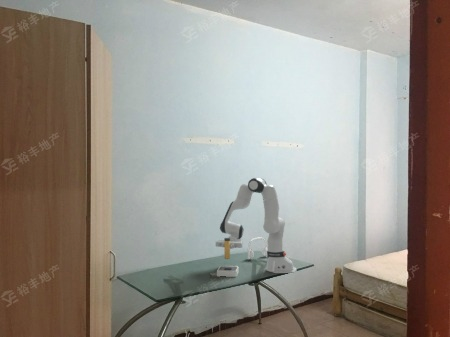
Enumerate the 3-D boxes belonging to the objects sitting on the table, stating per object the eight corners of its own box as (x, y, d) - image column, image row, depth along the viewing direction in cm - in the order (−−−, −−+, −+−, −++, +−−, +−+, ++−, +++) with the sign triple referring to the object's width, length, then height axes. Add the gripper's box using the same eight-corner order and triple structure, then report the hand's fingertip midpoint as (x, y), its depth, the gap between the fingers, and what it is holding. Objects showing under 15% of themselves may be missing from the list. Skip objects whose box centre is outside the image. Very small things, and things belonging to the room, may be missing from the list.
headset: (250, 260, 281) (250, 239, 282) (246, 259, 287) (245, 238, 288) (269, 257, 292) (269, 236, 292) (264, 255, 298) (264, 235, 298)
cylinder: (230, 257, 246) (230, 237, 247) (229, 259, 243) (229, 239, 243) (224, 257, 247) (224, 237, 247) (224, 259, 243) (224, 238, 243)
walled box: (238, 271, 250) (238, 266, 250) (236, 276, 237) (236, 271, 237) (220, 271, 252) (219, 265, 252) (216, 276, 239) (216, 270, 239)
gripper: (218, 237, 260) (213, 241, 247) (244, 238, 255) (240, 242, 242) (218, 245, 260) (213, 249, 247) (244, 247, 255) (240, 251, 242)
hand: (226, 246), depth 244 cm, fingers closed on cylinder, 4 cm apart
